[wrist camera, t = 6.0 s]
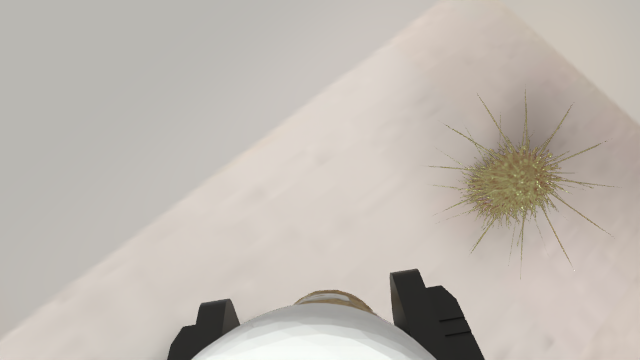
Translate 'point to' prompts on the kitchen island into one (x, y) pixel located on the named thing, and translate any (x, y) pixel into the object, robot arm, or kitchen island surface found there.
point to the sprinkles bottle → (317, 334)
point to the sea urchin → (514, 181)
